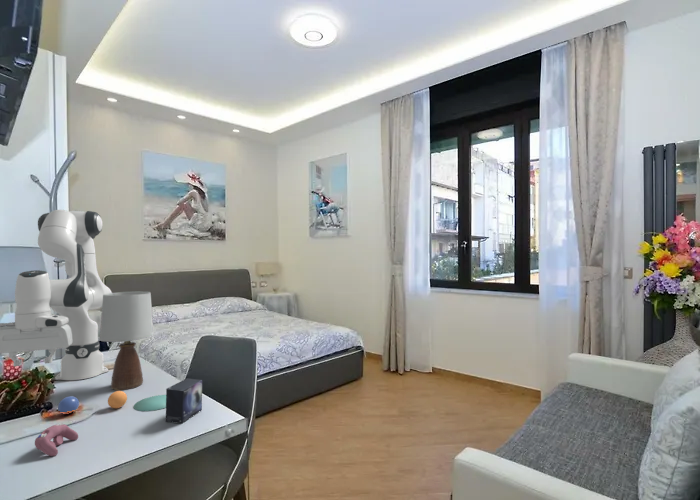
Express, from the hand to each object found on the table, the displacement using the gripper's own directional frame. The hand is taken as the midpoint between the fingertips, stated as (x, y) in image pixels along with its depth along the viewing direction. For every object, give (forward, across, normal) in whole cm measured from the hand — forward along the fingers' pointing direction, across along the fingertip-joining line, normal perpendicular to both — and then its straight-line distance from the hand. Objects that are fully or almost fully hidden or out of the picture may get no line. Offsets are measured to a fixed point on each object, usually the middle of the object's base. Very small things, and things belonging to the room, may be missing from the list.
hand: (33, 364), depth 119 cm
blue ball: (+15, +9, 0) cm, 17 cm away
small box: (+18, +46, -15) cm, 51 cm away
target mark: (+18, +35, 0) cm, 40 cm away
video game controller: (+18, +14, -25) cm, 34 cm away
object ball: (+15, +23, 0) cm, 28 cm away
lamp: (+18, +22, +24) cm, 37 cm away
